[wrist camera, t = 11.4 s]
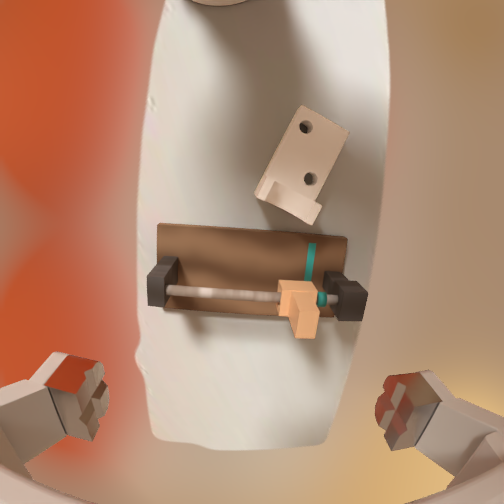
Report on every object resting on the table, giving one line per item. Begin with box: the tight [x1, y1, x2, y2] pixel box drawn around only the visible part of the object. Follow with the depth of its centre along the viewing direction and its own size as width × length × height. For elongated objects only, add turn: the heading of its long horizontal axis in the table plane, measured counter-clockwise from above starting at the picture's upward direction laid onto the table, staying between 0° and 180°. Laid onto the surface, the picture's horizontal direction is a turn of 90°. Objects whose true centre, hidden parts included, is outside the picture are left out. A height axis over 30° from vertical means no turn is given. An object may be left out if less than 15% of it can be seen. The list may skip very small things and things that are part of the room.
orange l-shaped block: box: [276, 280, 320, 339], centre depth 33 cm, size 3×4×8 cm
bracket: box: [254, 105, 350, 225], centre depth 37 cm, size 13×7×8 cm, turn 153°
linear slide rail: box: [147, 223, 368, 321], centre depth 38 cm, size 12×26×11 cm, turn 85°
